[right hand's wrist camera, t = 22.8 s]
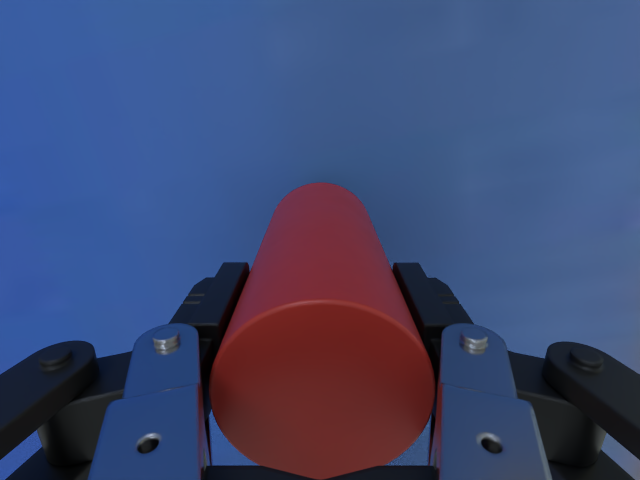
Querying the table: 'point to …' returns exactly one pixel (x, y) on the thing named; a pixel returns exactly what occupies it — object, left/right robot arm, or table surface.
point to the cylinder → (321, 346)
